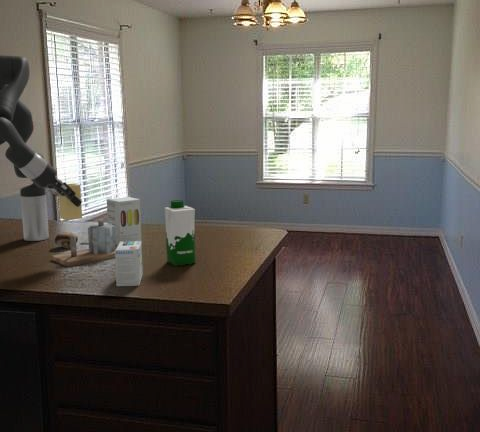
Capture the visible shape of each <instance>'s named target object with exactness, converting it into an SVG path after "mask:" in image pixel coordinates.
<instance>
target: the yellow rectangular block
mask: <svg viewBox="0 0 480 432" xmlns="http://www.w3.org/2000/svg"><path fill="white" fill-rule="evenodd" d="M66 184H67V185H68V186H69V187H70V188H71V189H72V190H73V191H74V192H75V193H76V194H75V196H76V197H77V198H78V199H79V200H81V201H82V193H81V192H82V191H81V184H77V183H66ZM61 193H63V192H61ZM70 194H71V193H69V195H70ZM58 203H59V204H58V206H59V207H58V208H59V218H60V219H62V220H65V221H71V220H73V221H74V220H78V219H79V220H81V219H83V210H82V209H83V207H82V203H81V204H80V206H79V207H77V206H75V205H74V204H73V203H72V202H71V201H70V200H68V199H67V198H66V197H64V196H63V197H62V196H60V195H59V197H58Z"/></svg>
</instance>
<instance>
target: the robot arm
mask: <svg viewBox="0 0 480 432" xmlns="http://www.w3.org/2000/svg"><path fill="white" fill-rule="evenodd" d="M29 79H30V65H29V62H28V59H27V58H26V57H24V56H21V55H20V56H19V55H5V54H4V55H2V54H1V55H0V146H2V145H3V144H5V142H6V143H8V148H7V149H6V150H5V152H4V153H5V158H6V159H7V160H8V161H9V162H10V163H11V164H13V170H14V174H15V175H16V177H17V178H20V179H29V181H31V182H32V183H31V184H29V185H26V186H24V187H22V188H20V189H19V191H20V193H19V194H20V205H21V206H20V207H21V220H22V233H23V240H24V241H27V242H36V241H44V240H48V239H49V237H50V236H49V235H50V234H49V233H50V232H49V220H48V218H49V217H48V207H47V205H48V204H47V191H49V192H50V193H51V194H52V195H54V197H58V198H59V195H60V196H62V197H63V196H64V197H66V198H67V199H68V200H70V201H71V202H72V203H73V204H74V205H75V206H77V207H79V206H80V204H81V205H82V202H83V201H82V199H81V200H79V199H78V198H77V197H76V196H75V194H76V193H75V192H74V191H73V190H72V189H71V188H70V187H69V186H68V185H67V184H68V183H67V182H65V181H64V182H63V181H62V180H61V179H57V178H56V177H57V173H58V172H57V170H56V169H55V168H54V167H53V166H52V165H51V164H50V163H49V162H48V161H46V159H45V158H44V155H42V153H37V152H36V151H34V150H33V149H32V148H31V147H30V146H29V144H27V142H28V141H29V139H30V138H31V136H32V135H33V132H34V129H35V128H34V127H35V126H34V122H33V115H32V112H31V110H30V109H29V108H30V107H28V105H26V103H24V101H22V99H21V98H20V97H21V96H22V94H23V93H24V90H25V88H26V86H27V84H28V82H29ZM46 190H47V191H46ZM61 192H63V193H61ZM69 193H71V194H70V195H69Z"/></svg>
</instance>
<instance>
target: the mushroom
mask: <svg viewBox="0 0 480 432" xmlns="http://www.w3.org/2000/svg"><path fill="white" fill-rule="evenodd" d="M71 235H75V234H74V233H72V232H68V231H67V232H60V233H58V234H57V235H56V236H55V237H54V244H55V245H56V246H58V247H62V248H64V249H71V245H70V236H71ZM78 240H79V238H78V236H77V235H76V244H77V243H78Z"/></svg>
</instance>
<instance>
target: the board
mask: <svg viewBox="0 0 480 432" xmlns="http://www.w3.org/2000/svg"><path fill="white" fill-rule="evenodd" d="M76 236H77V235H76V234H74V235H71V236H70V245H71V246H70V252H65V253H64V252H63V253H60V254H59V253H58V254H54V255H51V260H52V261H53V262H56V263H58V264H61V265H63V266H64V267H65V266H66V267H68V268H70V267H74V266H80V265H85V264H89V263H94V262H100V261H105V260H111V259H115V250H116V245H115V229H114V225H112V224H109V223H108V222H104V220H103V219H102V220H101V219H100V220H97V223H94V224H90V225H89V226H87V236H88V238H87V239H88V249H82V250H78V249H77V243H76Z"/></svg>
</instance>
